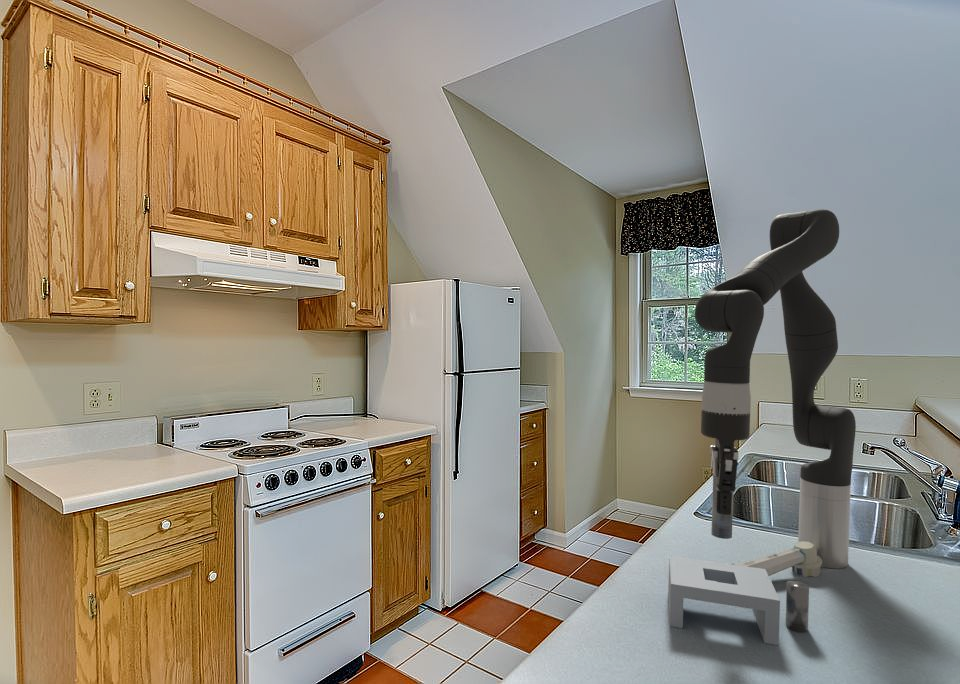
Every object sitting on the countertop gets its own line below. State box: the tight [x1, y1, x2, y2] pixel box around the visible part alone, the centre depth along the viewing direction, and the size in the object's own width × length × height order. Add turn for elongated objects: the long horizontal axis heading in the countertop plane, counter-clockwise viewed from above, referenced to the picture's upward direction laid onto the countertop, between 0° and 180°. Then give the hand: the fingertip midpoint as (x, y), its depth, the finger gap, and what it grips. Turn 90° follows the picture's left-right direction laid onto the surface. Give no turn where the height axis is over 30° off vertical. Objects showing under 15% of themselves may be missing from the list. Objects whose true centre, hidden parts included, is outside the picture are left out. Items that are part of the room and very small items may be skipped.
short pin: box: [785, 580, 810, 634], centre depth 90 cm, size 3×3×7 cm
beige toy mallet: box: [721, 541, 822, 584], centre depth 108 cm, size 5×7×25 cm
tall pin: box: [710, 466, 734, 540], centre depth 93 cm, size 3×3×12 cm
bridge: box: [667, 555, 781, 646], centre depth 93 cm, size 12×16×7 cm
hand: (722, 509), depth 93 cm, fingers closed on tall pin, 3 cm apart
